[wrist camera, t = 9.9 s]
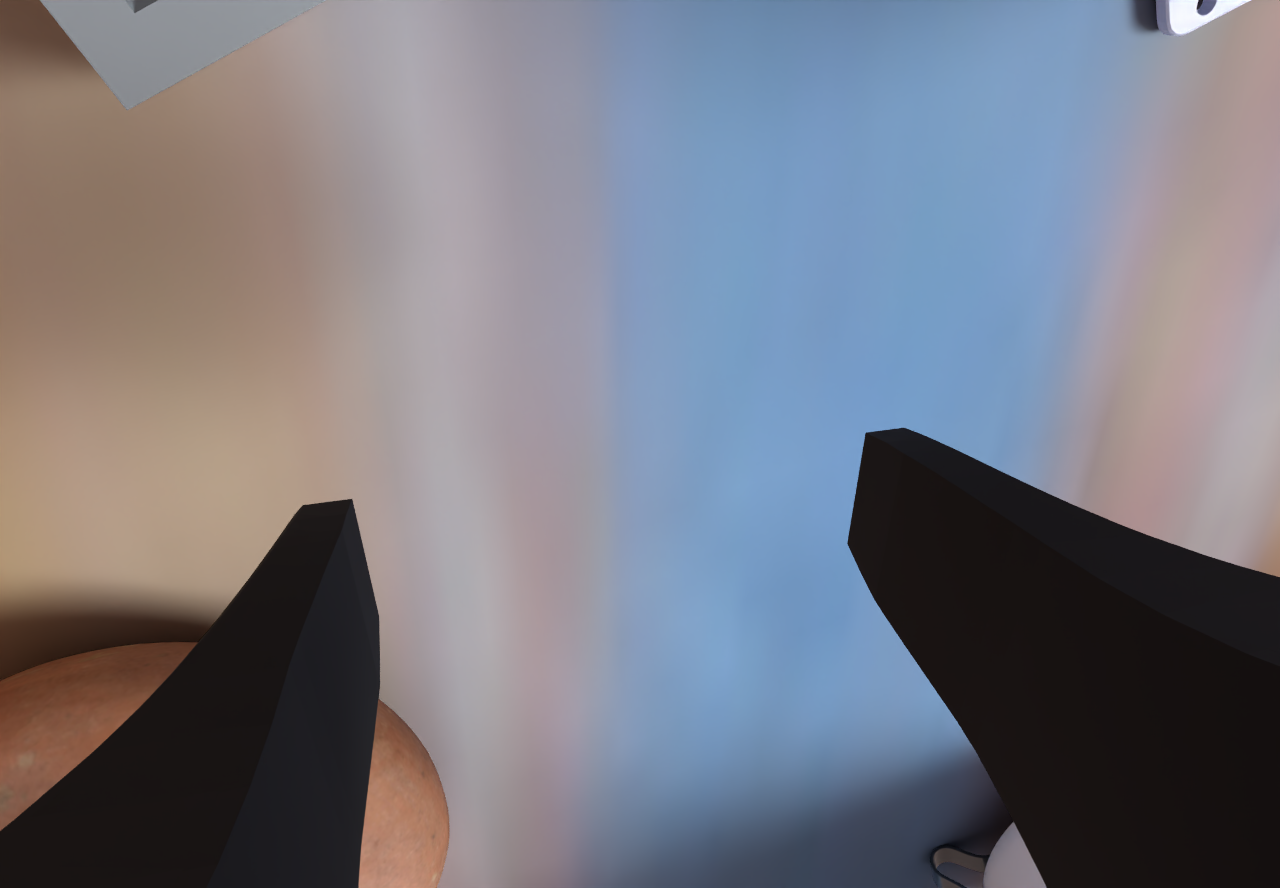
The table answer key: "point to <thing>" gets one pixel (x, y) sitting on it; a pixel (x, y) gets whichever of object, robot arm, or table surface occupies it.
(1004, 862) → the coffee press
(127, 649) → the ceramic jug
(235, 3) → the slate box
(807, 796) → the table surface
